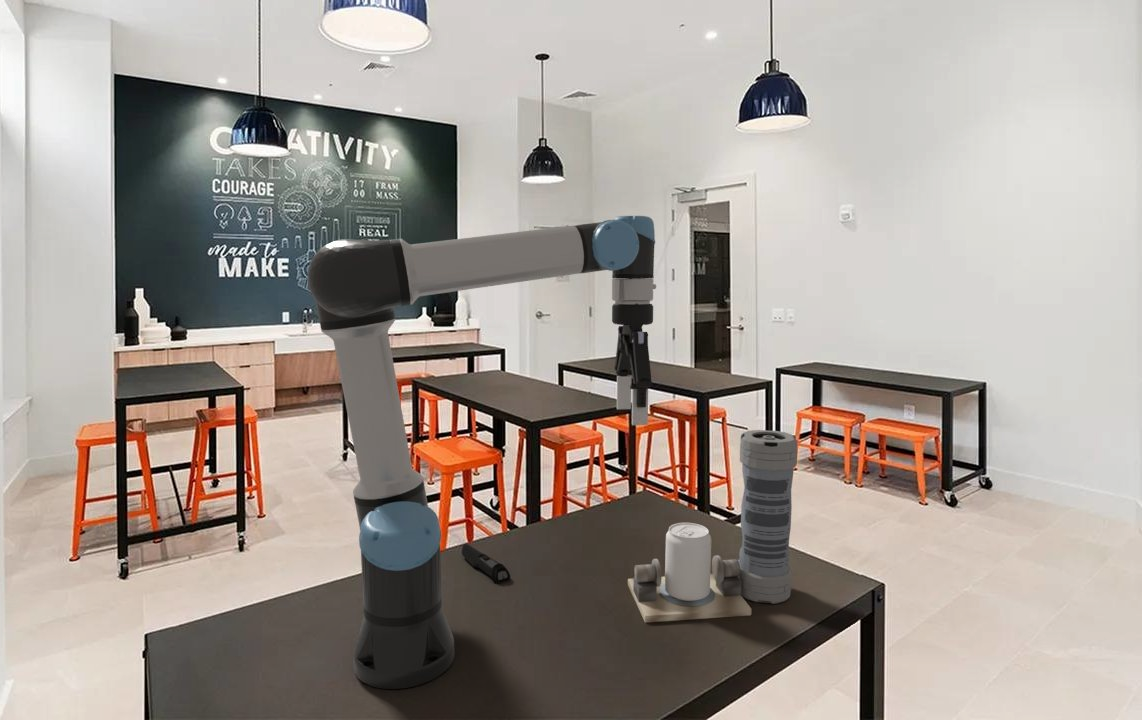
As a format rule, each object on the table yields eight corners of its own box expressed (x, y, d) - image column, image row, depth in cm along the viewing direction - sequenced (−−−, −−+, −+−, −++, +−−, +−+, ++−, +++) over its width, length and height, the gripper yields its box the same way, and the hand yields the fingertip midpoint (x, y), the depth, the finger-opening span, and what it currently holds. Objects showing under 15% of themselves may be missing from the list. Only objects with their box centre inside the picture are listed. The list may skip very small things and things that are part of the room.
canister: (793, 607, 119) (801, 444, 115) (736, 602, 121) (741, 441, 117) (787, 582, 129) (794, 430, 125) (733, 577, 131) (739, 428, 127)
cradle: (645, 622, 114) (645, 578, 113) (627, 584, 128) (628, 545, 127) (751, 615, 117) (752, 572, 116) (723, 578, 130) (724, 540, 129)
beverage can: (718, 592, 122) (720, 529, 120) (693, 608, 116) (695, 542, 115) (681, 578, 128) (682, 518, 126) (655, 593, 122) (657, 530, 120)
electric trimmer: (473, 554, 143) (473, 540, 142) (512, 580, 130) (511, 565, 130) (457, 559, 140) (457, 544, 140) (495, 585, 128) (495, 570, 128)
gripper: (671, 306, 110) (669, 431, 113) (637, 299, 135) (635, 402, 137) (626, 306, 109) (625, 433, 112) (600, 299, 134) (600, 403, 136)
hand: (631, 416), depth 125 cm, fingers open, 13 cm apart
